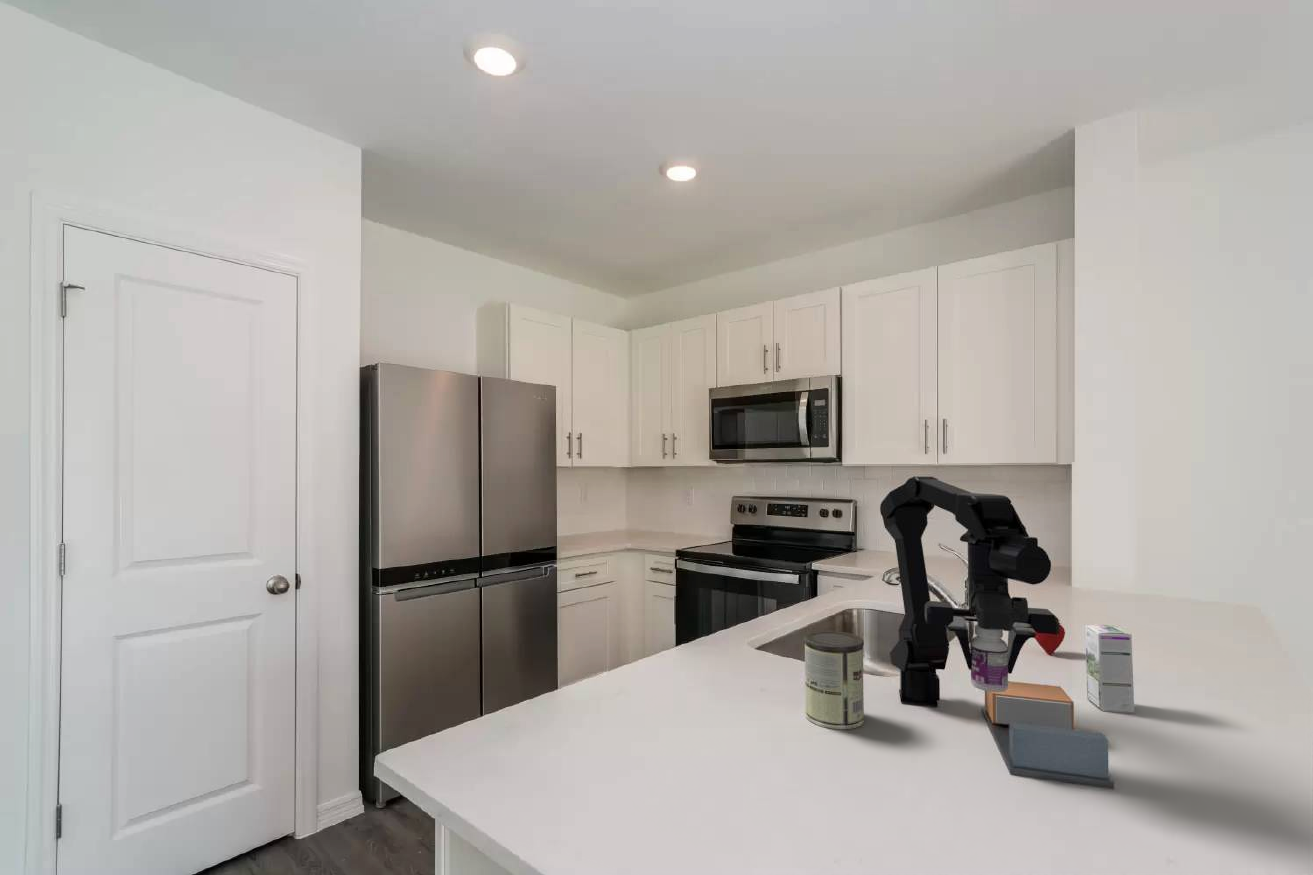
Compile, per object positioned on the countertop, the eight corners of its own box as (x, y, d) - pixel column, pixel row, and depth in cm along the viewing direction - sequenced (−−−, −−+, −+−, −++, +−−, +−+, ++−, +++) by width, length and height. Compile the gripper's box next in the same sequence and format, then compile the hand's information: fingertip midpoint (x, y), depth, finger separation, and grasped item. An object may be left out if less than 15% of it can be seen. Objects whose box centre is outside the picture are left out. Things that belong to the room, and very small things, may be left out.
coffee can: (810, 702, 120) (810, 627, 121) (867, 712, 116) (867, 634, 117) (798, 723, 111) (798, 641, 112) (860, 734, 107) (859, 649, 107)
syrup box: (1135, 713, 116) (1134, 633, 116) (1099, 711, 117) (1098, 631, 118) (1119, 702, 122) (1118, 625, 122) (1085, 699, 123) (1084, 623, 123)
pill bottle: (964, 681, 105) (963, 622, 105) (995, 681, 105) (994, 621, 105) (982, 693, 99) (981, 630, 100) (1015, 692, 99) (1014, 630, 100)
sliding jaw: (984, 706, 116) (984, 678, 116) (1060, 715, 112) (1060, 686, 112) (993, 724, 108) (993, 694, 108) (1075, 733, 104) (1074, 702, 104)
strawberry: (1025, 651, 153) (1025, 609, 154) (1051, 649, 155) (1050, 608, 155) (1046, 659, 148) (1045, 615, 148) (1072, 656, 149) (1071, 613, 150)
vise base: (981, 712, 116) (980, 676, 116) (1063, 721, 112) (1062, 684, 112) (1010, 774, 93) (1009, 729, 94) (1114, 789, 89) (1113, 742, 90)
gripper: (928, 577, 98) (930, 680, 98) (1068, 585, 92) (1071, 695, 91) (923, 566, 109) (925, 659, 108) (1049, 573, 103) (1051, 671, 102)
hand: (989, 670), depth 102 cm, fingers closed on pill bottle, 5 cm apart
